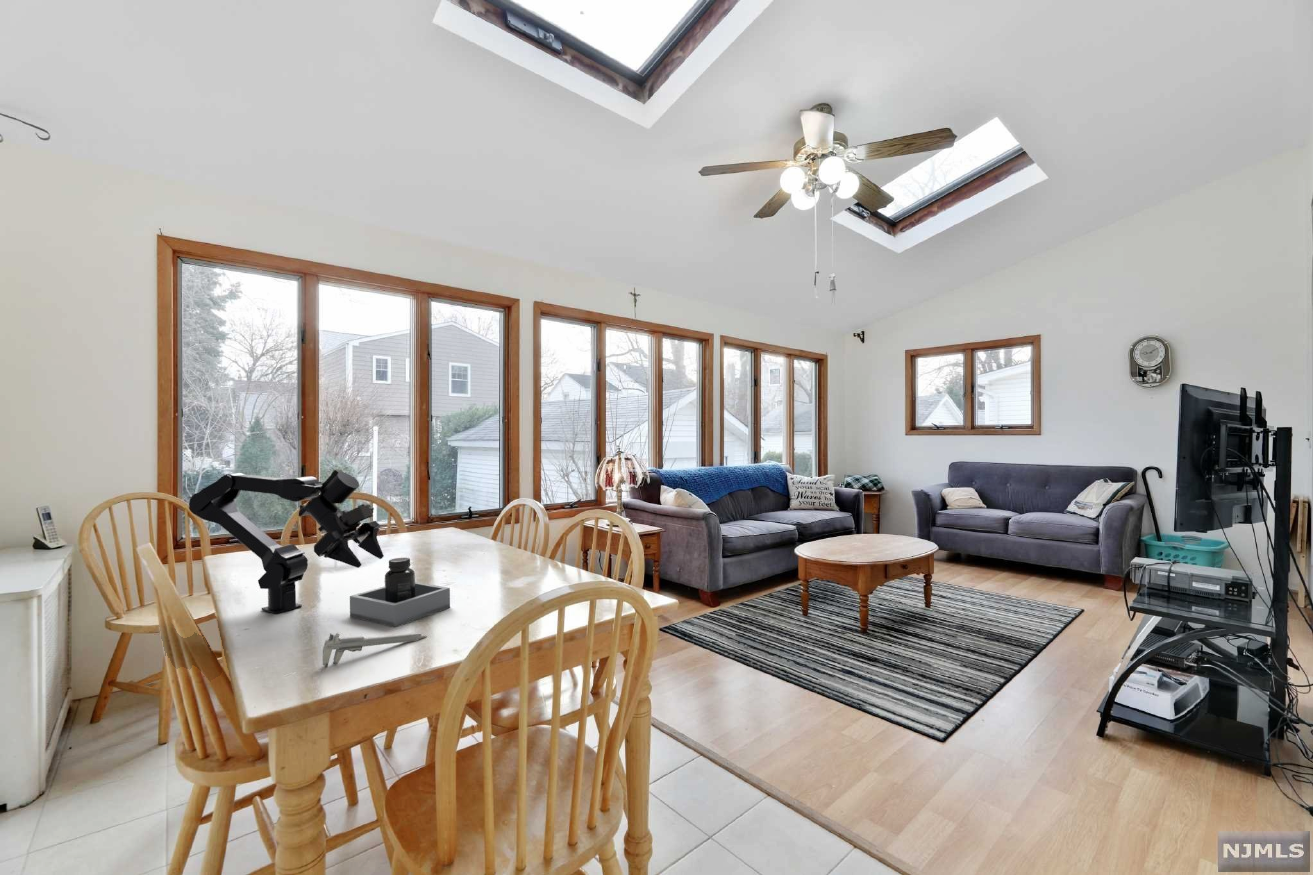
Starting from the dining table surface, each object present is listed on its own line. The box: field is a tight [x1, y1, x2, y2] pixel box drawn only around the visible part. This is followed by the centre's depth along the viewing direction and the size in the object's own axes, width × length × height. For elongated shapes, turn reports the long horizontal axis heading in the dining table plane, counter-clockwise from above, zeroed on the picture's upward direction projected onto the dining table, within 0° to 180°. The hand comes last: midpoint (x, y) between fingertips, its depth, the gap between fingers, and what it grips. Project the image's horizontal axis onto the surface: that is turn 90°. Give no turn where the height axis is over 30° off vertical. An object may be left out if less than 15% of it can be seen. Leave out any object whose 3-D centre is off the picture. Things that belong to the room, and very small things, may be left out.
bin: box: [349, 581, 451, 628], centre depth 140 cm, size 16×16×5 cm
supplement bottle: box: [384, 557, 416, 603], centre depth 140 cm, size 7×7×12 cm
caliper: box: [322, 632, 427, 668], centre depth 116 cm, size 20×1×6 cm, turn 141°
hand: (371, 561), depth 141 cm, fingers open, 9 cm apart
